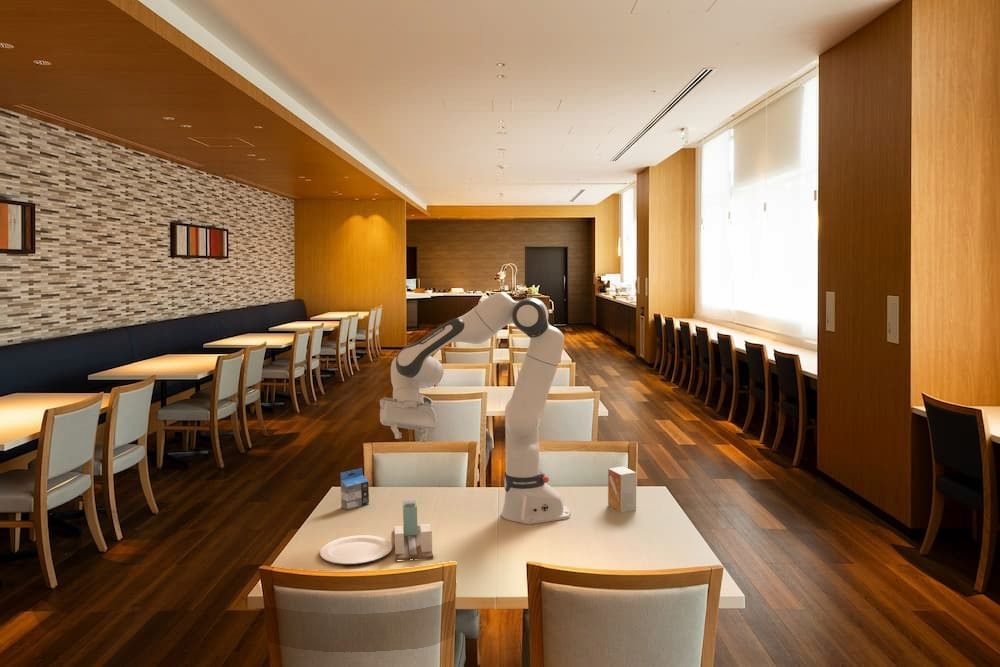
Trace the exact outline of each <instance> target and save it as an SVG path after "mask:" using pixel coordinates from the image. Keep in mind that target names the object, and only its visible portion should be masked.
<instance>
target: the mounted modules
mask: <svg viewBox="0 0 1000 667" xmlns="http://www.w3.org/2000/svg"><path fill="white" fill-rule="evenodd" d="M419 526H420V543H421V550H422V552H430V551H432V552H433V533H432V532H433V530H432V527H431V523H421V524H419ZM403 527H404V525H397V526H396V525H394V526H393V533H394V532H395V542H394V554H404V532H403Z"/></svg>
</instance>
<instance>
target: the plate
mask: <svg viewBox="0 0 1000 667" xmlns="http://www.w3.org/2000/svg"><path fill="white" fill-rule="evenodd" d="M392 549H393V544H392V542H391V541H389V540H388V539H386V538H384V537H381V536H377V535H368V534H367V535H365V534H363V535H362V534H361V535H359V534H358V535H350V536H344V537H339V538H337V539H335V540H331V541H330V542H328V543H326V544H324V546H322V547H321V548H320V550H319V556H320V558H321V559H322V560H325V561H327V562H328V563H332V564H335V565H345V566H346V565H352V566H355V565H361V564H363V565H364V564H367V563H373V562H375V561H378V560H381V559H383V558H384V557H386V556H387V555H389V554H390V553H391V552H392Z"/></svg>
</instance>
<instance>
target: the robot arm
mask: <svg viewBox="0 0 1000 667" xmlns="http://www.w3.org/2000/svg"><path fill="white" fill-rule="evenodd" d="M549 319H550V311H549V308H548V306H547V304H546V303H545V302H543V301H542V300H541V299H538V298H536V297H526V298H524V299H521V300H517V301H516V300H514V299H513V298H512V297H511V295H509V294H507V293H506V292H502V291H498V292H495V293H493V294H491V295H490V296H487V298H485V299H483V300H482V301H481V302H480V303H478V304H477V305H476V306H474V307H473V308H472V309H471V310H469V311H467V312H466V313H464V314H463V315H461V316H459V317H457V318H452V319H450V320H448V321H446V322H445V323H443V324H441V325H439V326H438V327H437V328H435V329H434V330H432V331H431V332H430V333H428V334H426V335H425V336H423V337H422V338H420V339H419V340H417V341H416V342H414V343H411V344H409V345H406V346H405V347H403V348H401V349H400V351H399V352H398V353H397V355H396V356H395V357H394V358H393V360H392V361H391V365H390V381H391V385H392V388H393V389H392V398H391V397H387V396H384V397H383V398H380V399H379V406H380V409H379V422H380V424H381V425H383V426H389V427H390V430H391V431H392V432H393V435H394V438H395V439H396V440H400V439H402V438H403V436H402V431H399V428H402V429H407V430H415V431H420V432H421V434H422V435H421V436H420V437H419V443H426V442H427V436H428V434H429V433H432V432H433V431H435V430H436V429H437V427H438V420H437V419H438V418H437V414H436V410H435V408H433V406H434V400H433V399H431V398H429V397H428V396H425V394H424V395H423V394H422V393H420V390H421V389H426V388H430V387H434V386H436V385H437V384H438V383H440V381H442V378H443V376H444V366H443V364H442V362H440V361H439V360H438V359H436V358H435V357H433V355H434V354H435V353H437V352H438V351H439V350H441V349H442V348H444V347H445V346H447V345H450V344H452V343H467V344H472V345H473V344H474V345H480V344H483V343H485V342H487V341H488V340H490V339H491V338H493V337H494V336H495V335H496V334H497V333H498V332H499V331H501V330H502V329H503V328H504V327H506V326H509V325H510V324H514V325H515V327H516V328H517V329H518V330H519V331H521V332H522V333H524V334H525V335H526V336H527V337H529V339H530V340H529V345H528V347H527V350H526V353H525V356H524V359H523V361H522V364H521V367H520V370H519V372H518V375H517V377H516V378H517V380H516V382H515V385H514V388H513V391H512V394H511V397H510V398H509V400H508V401H507V403H506V405H505V409H504V418H505V419H504V421H505V422H504V428H505V430H504V431H505V434H504V435H505V472H504V477H503V478H504V480H503V482H504V484H503V486H504V490H505V494H504V501H503V507H502V511H501V517H502V518H504V519H506V520H508V521H512V522H518V523H521V524H524V525H534V524H541V523H547V522H554V521H559V520H566V519H569V518H570V516H571V513H570V509H569V507H567V506H566V505H565V504H564V503H563V499H562V496H561V494H560V493H559V492H558V491H557V490H556V489H555V488H553V487H552V486H550V485H549V484H548V483H549V481H550V477H549V476H548V475H546V474H545V473H544V472H542V471H540V439H539V438H540V436H539V434H540V433H539V425H540V423H541V419H542V417H543V414H544V410H545V407H546V403H547V401H548V397H549V392H550V389H551V387H552V383H553V381H554V379H555V378H554V377H555V375H556V373H557V369H558V367H559V364H560V362H561V358H562V354H563V350H564V344H565V335H564V334H563V332H562V331H561V330H560V329H559V328H557V327H555V326H552V325H551V324H550V322H549Z"/></svg>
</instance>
